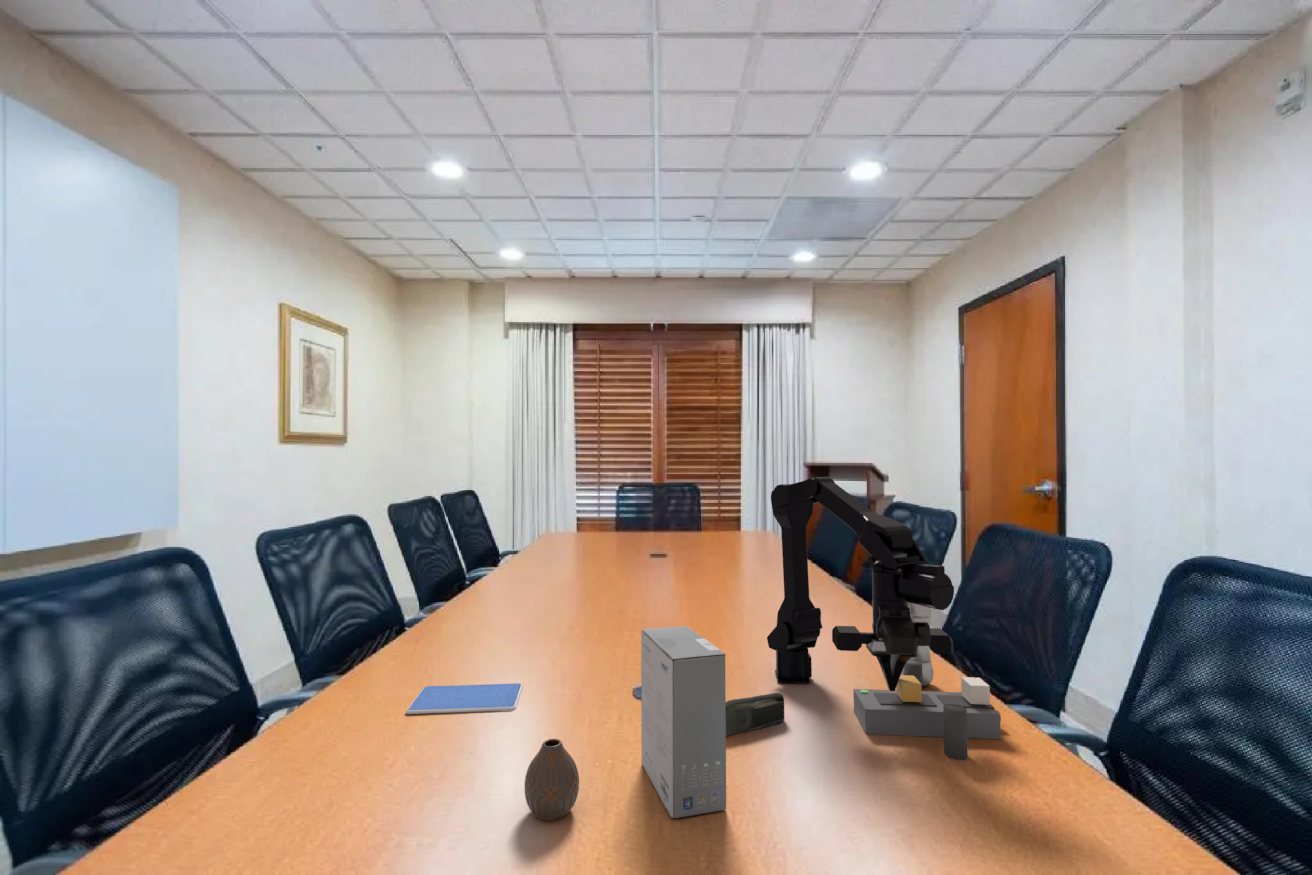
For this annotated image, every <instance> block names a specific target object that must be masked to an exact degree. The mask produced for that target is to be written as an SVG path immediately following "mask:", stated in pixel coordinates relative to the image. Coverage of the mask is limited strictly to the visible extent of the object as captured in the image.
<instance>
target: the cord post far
mask: <svg viewBox="0 0 1312 875" xmlns="http://www.w3.org/2000/svg"><path fill="white" fill-rule="evenodd" d="M904 675H911V676H915V677H916V679H917V680H918V681H919V682H920V683H921V691H924V690H923V689H924V688H923V687H924V686H923V682H922V663H921V662H918V661H914V660H908V661H907V662H906V664H905V666H904Z"/></svg>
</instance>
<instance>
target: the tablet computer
mask: <svg viewBox="0 0 1312 875" xmlns="http://www.w3.org/2000/svg"><path fill="white" fill-rule="evenodd" d="M523 689H524V685H523V684H522V683H518V682H517V683H492V684H491V683H490V684H487V683H486V684H465V685H461V684H459V685H458V684H457V685H456V684H455V685H452V684H451V685H426V686H423V688H422V689H421V690H420V692H419V693H418V694H417V696H416V697H415V698H414V700H413V701H412V703H411V704H409V707H407V709H406V711H405V714H407V715H422V714H423V715H425V714H452V713H453V714H455V713H483V712H487V713H488V712H512V711H514V712H515V711H516V709H517V708H518V705H519V703H520V702H519V701H520V698H521V694H522V693H523Z"/></svg>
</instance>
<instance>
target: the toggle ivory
mask: <svg viewBox="0 0 1312 875" xmlns="http://www.w3.org/2000/svg"><path fill="white" fill-rule="evenodd" d="M960 679H961V680H960V683H961V684H960V686H961V687H960V688H961V692H962V696H963V697H964V698H965V699H966V700H967V701H968V702H969V703H970V704H985V705H990V704H991V690H990V685H989V684H988V683H987V682H985V681H984V680H983V679H982V678H981V677H972V676H971V677H970V676H969V677H968V676H965V677H964V676H961V677H960Z"/></svg>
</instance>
